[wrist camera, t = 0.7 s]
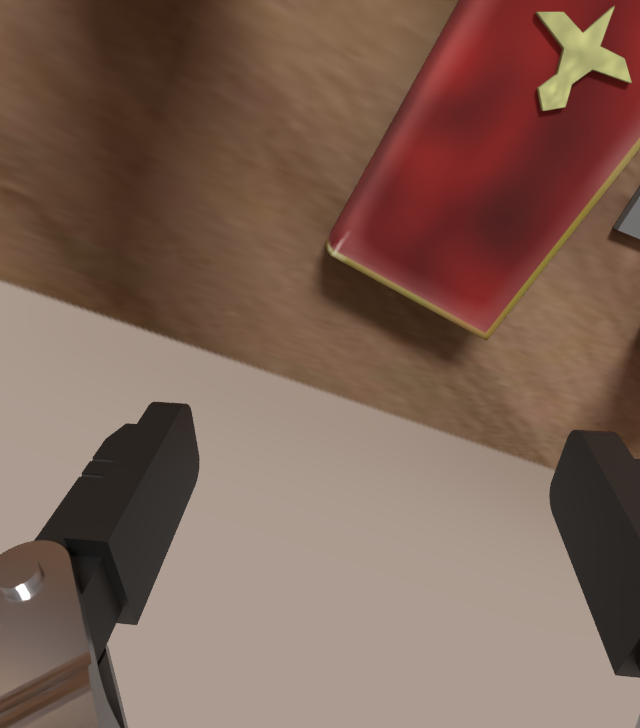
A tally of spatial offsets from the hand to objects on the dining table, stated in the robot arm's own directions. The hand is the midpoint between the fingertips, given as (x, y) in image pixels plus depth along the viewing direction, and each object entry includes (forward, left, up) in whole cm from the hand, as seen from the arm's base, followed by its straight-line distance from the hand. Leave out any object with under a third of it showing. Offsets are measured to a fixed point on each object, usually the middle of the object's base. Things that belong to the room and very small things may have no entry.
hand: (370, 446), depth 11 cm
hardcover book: (-3, +10, -24) cm, 26 cm away
